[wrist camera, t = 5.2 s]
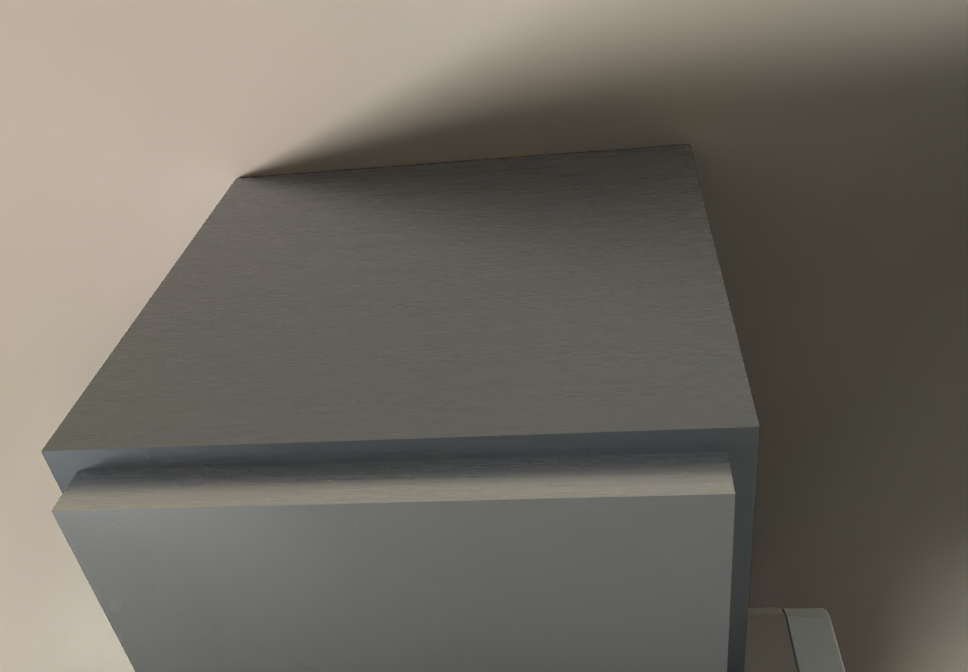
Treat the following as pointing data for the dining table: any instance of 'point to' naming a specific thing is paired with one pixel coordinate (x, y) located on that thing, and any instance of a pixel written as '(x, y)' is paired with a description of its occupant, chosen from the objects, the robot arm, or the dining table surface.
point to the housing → (427, 429)
